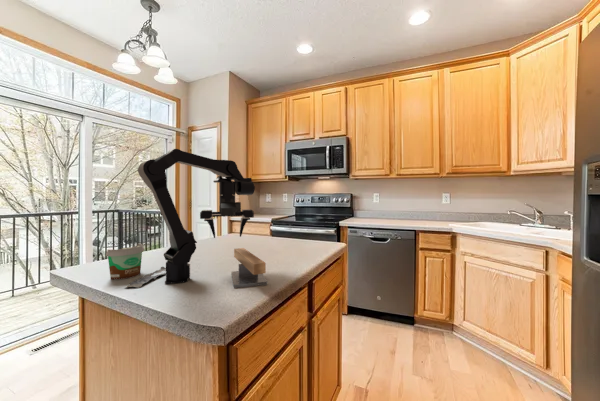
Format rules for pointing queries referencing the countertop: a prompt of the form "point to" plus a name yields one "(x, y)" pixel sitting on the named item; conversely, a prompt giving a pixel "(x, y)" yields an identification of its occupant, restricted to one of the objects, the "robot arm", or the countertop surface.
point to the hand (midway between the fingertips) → (227, 237)
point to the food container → (125, 262)
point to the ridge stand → (247, 278)
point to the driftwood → (145, 278)
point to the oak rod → (250, 261)
